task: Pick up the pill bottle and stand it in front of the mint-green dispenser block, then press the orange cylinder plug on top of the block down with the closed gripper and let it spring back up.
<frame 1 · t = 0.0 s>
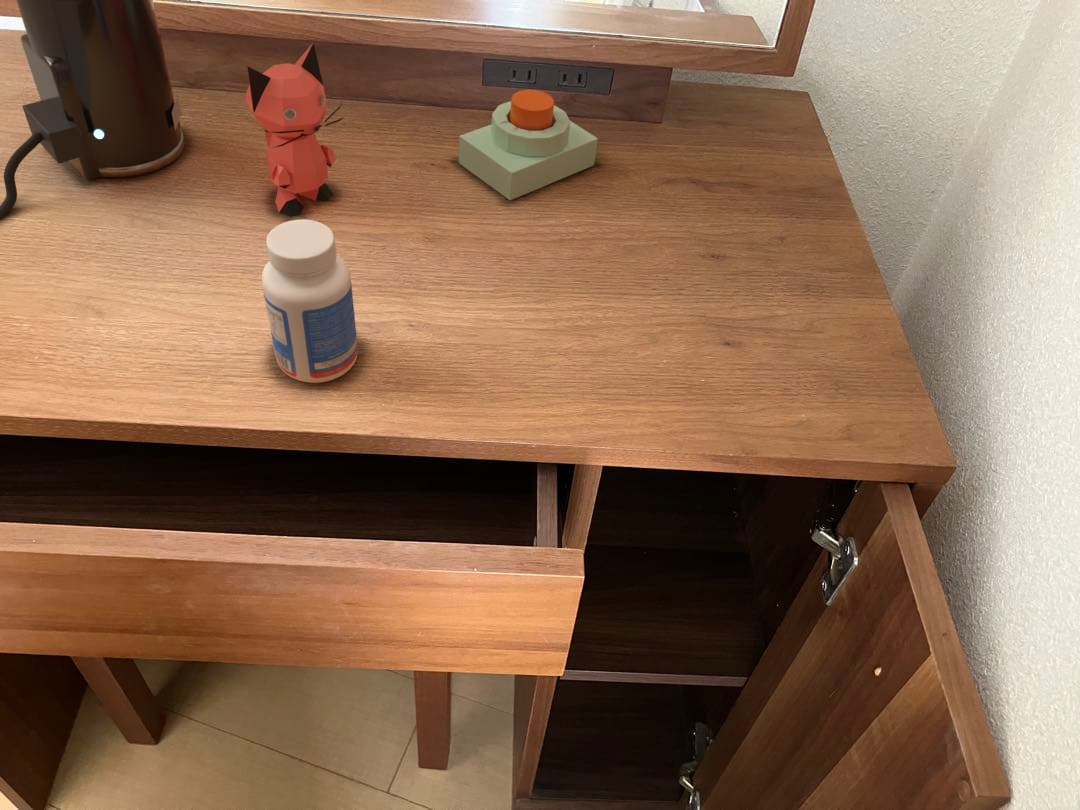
pill bottle: (317, 359, 61), on the table
cat figurine: (299, 198, 73), on the table
orange cylinder plug: (531, 111, 76), point 5 cm above the table, slide at 0.1 cm
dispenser: (527, 164, 80), on the table
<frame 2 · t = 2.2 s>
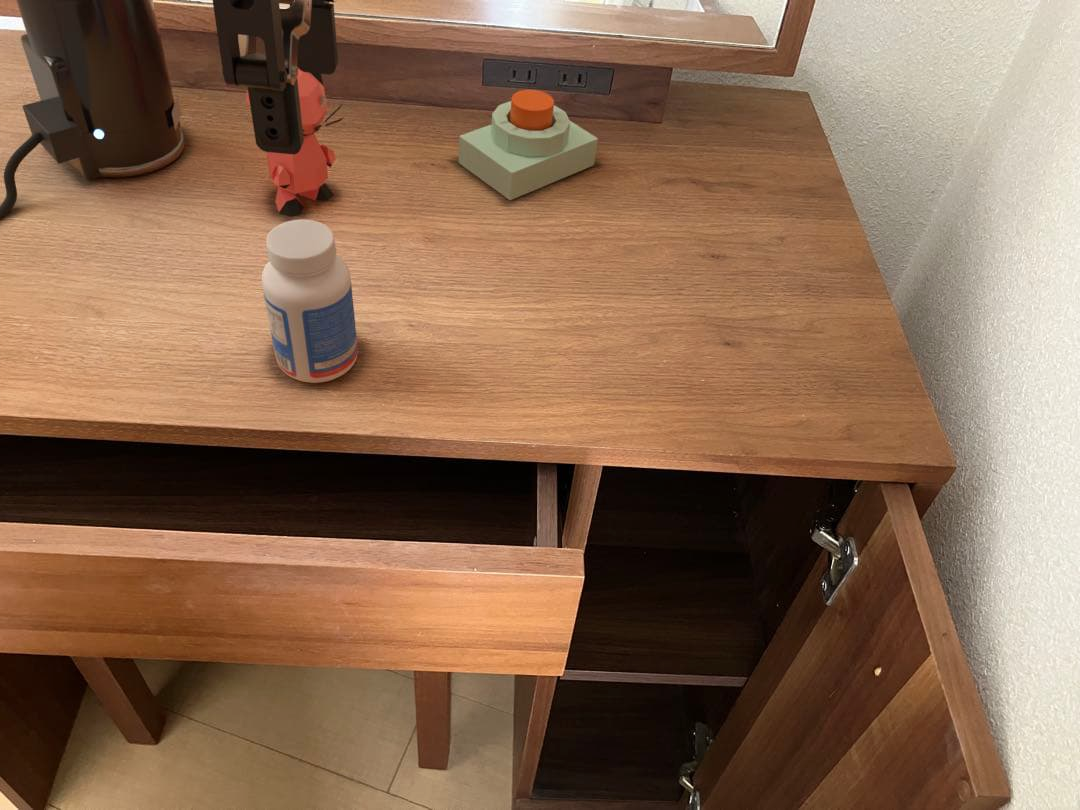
hand: (300, 107, 48), 18 cm above the table, tool pointing down, fingers open, 8 cm apart
nothing on the table moved.
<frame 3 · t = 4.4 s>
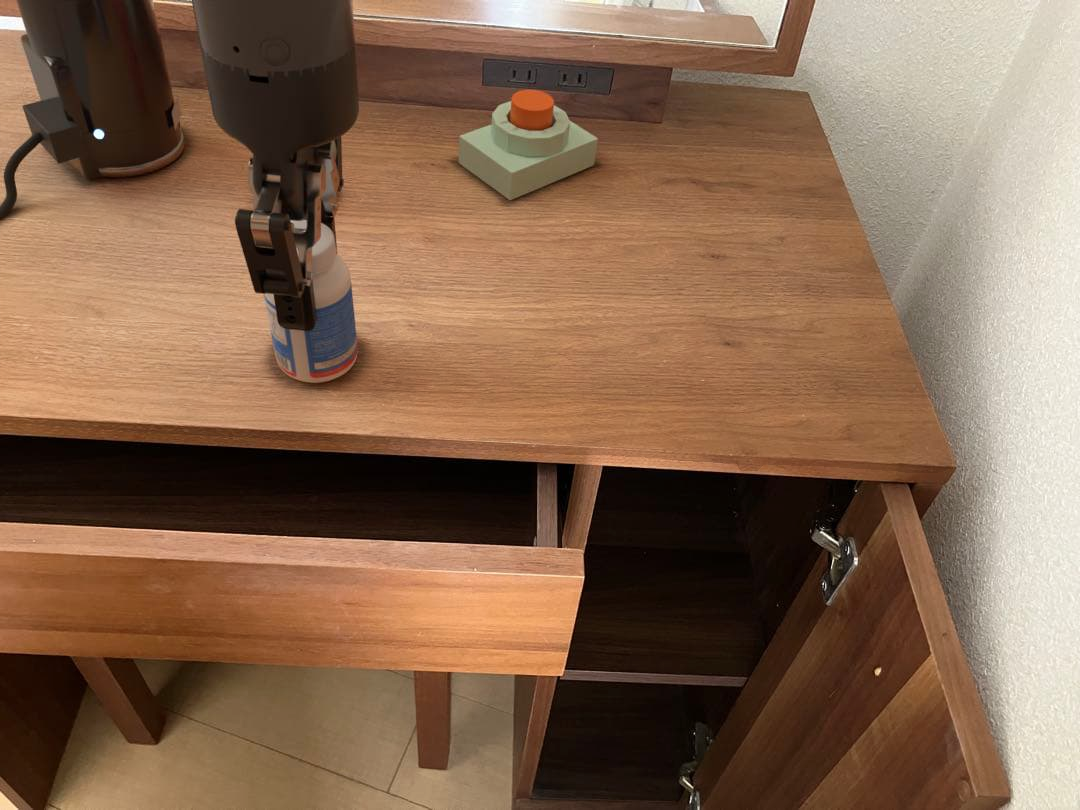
hand: (309, 294, 57), 5 cm above the table, tool pointing down, fingers closed on pill bottle, 5 cm apart
pill bottle: (317, 359, 61), on the table, touching gripper
everything else where it was.
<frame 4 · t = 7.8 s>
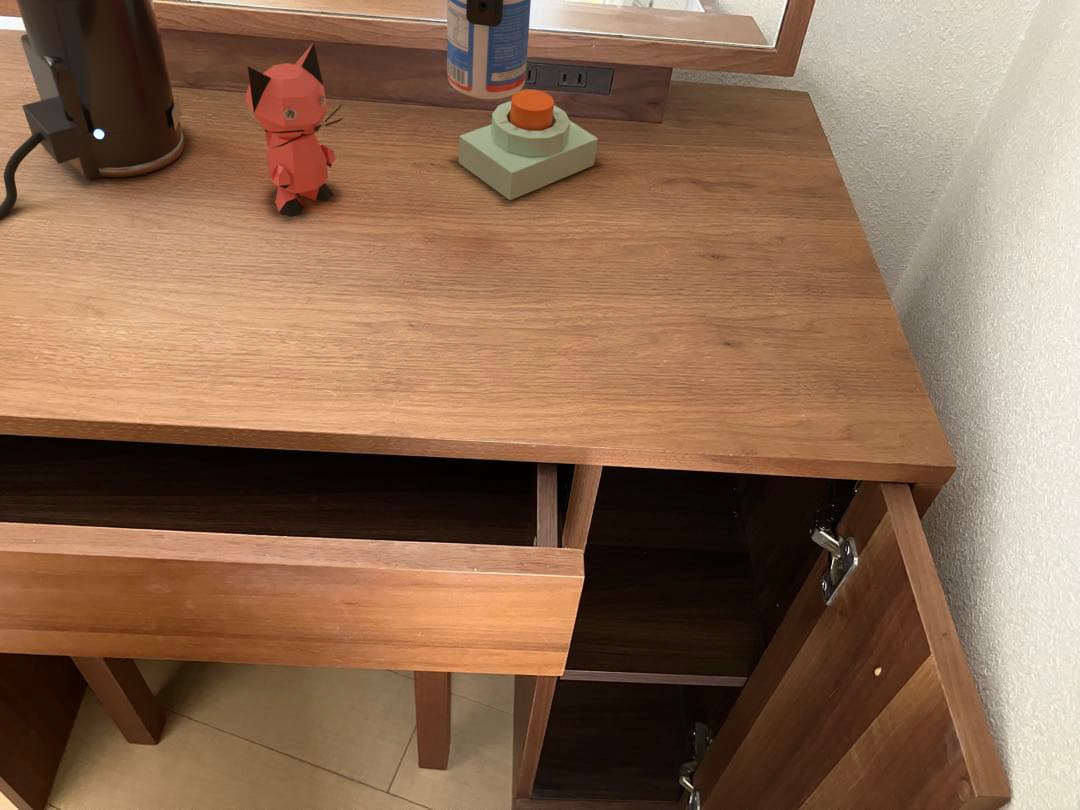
hand: (488, 2, 58), 19 cm above the table, tool pointing down, fingers closed on pill bottle, 5 cm apart
pill bottle: (485, 85, 62), point 13 cm above the table, touching gripper
everything else where it was.
when the fingers open (5 cm above the table, at t = 11.3 s): pill bottle stays where it is, on the table.
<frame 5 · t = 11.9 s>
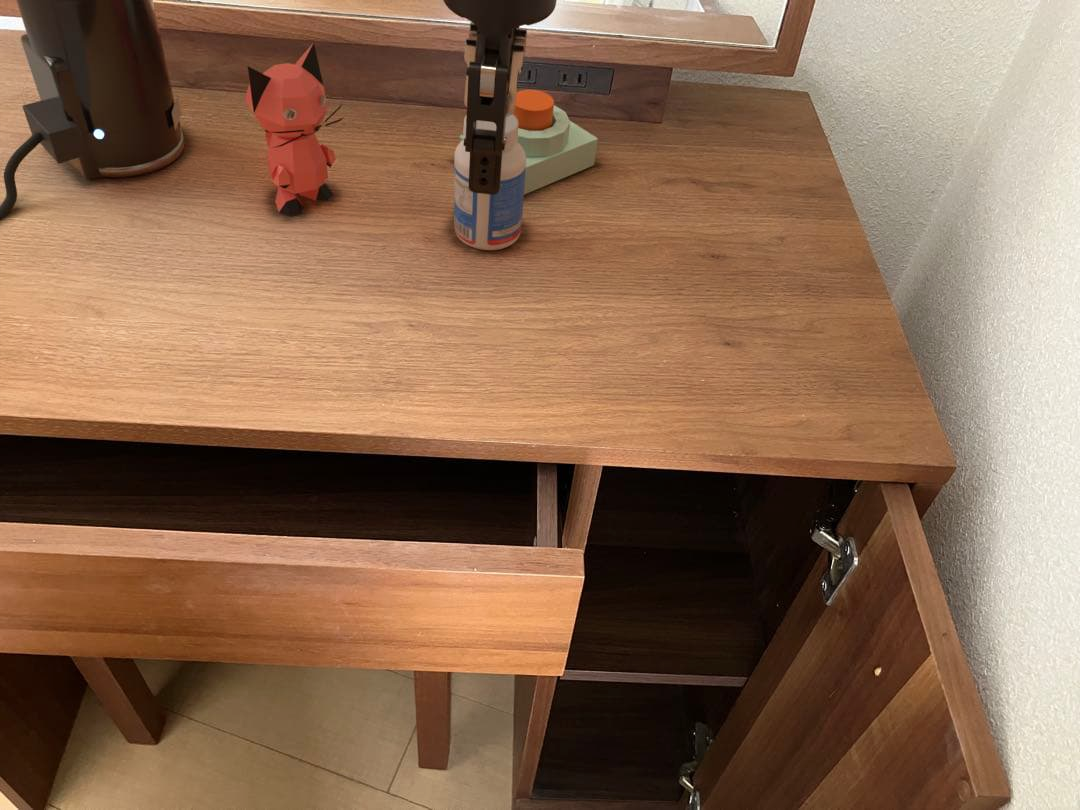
hand: (489, 159, 67), 7 cm above the table, tool pointing down, fingers open, 8 cm apart
pill bottle: (486, 234, 72), on the table
everything else where it was.
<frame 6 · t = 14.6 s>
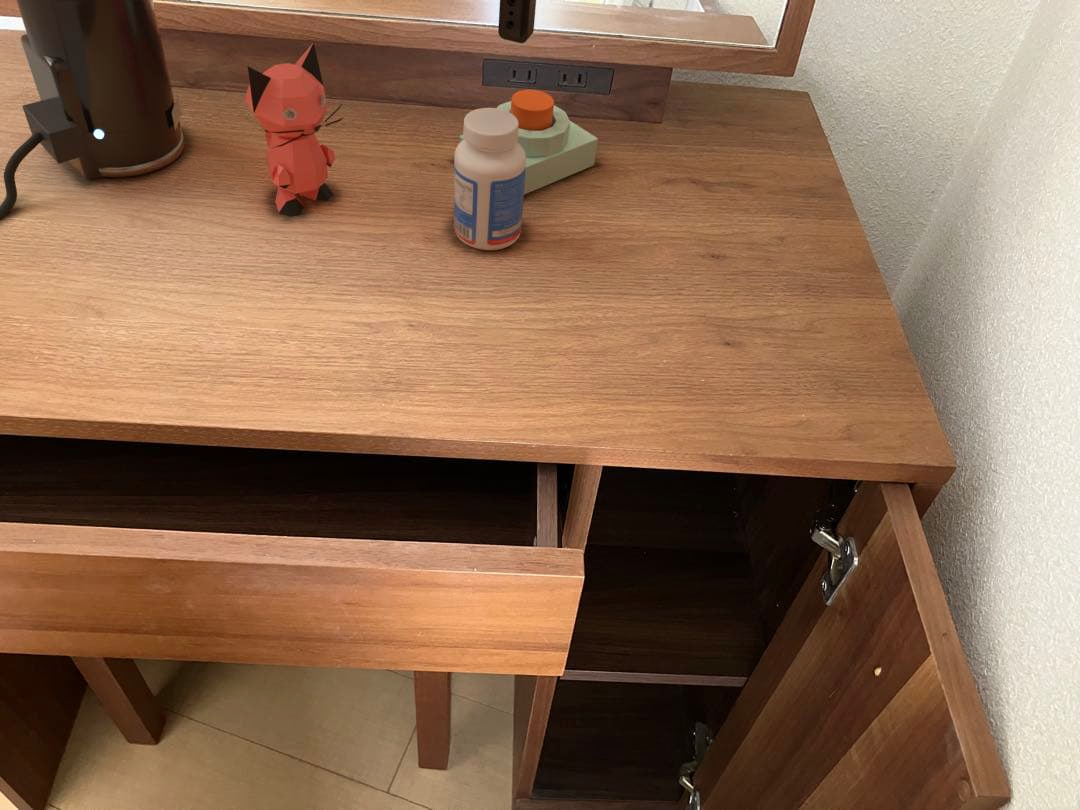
hand: (515, 37, 65), 14 cm above the table, tool pointing down, fingers closed
nothing on the table moved.
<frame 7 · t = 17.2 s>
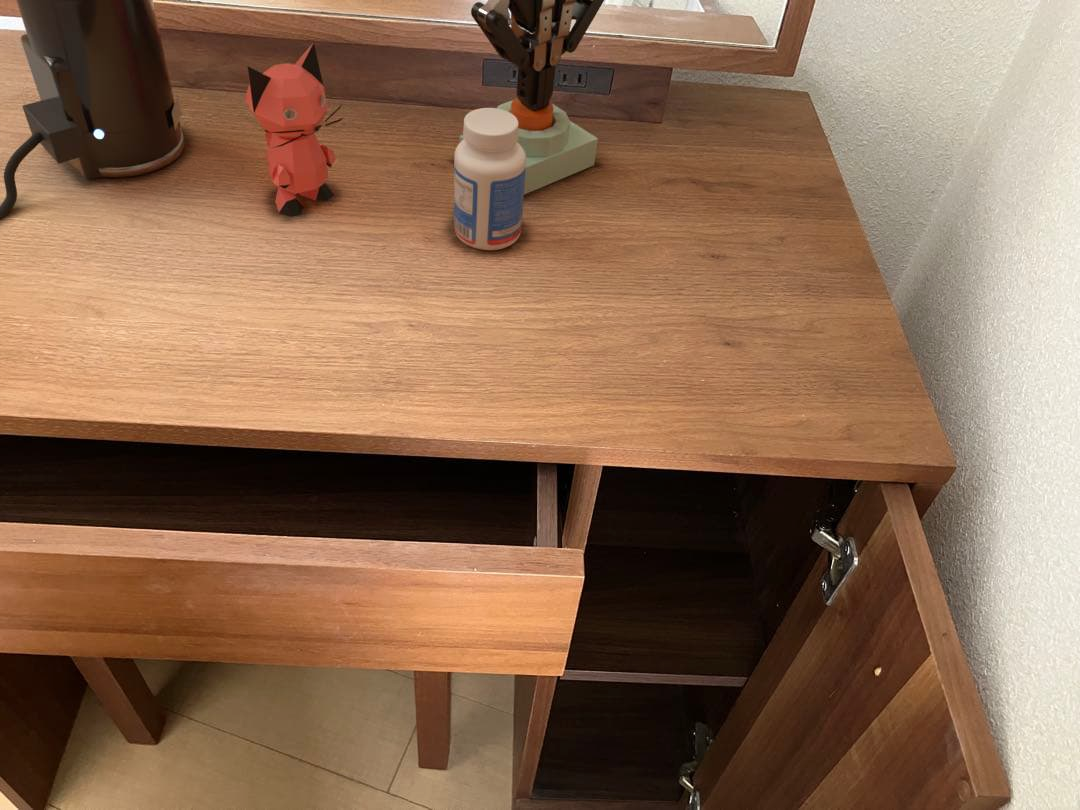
hand: (533, 105, 76), 6 cm above the table, tool pointing down, fingers closed
orange cylinder plug: (531, 116, 76), point 5 cm above the table, slide at -0.4 cm, touching gripper
everything else where it was.
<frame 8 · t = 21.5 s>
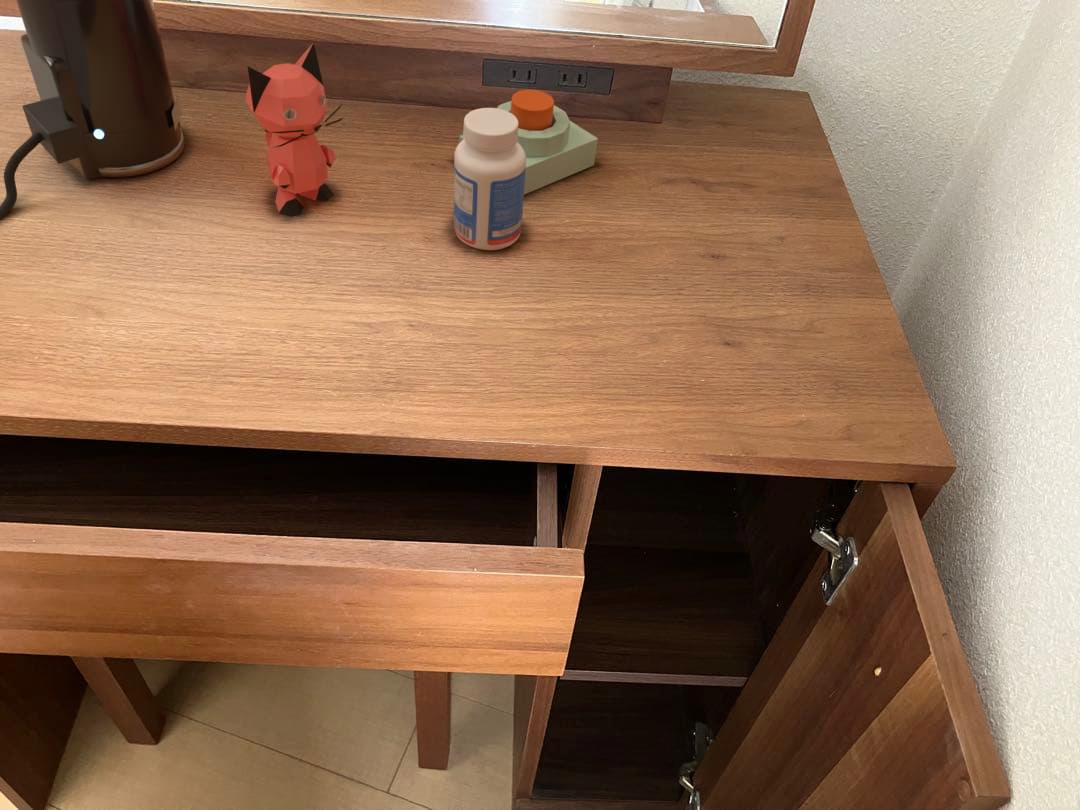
orange cylinder plug: (531, 111, 76), point 5 cm above the table, slide at 0.1 cm
everything else where it was.
at the end: orange cylinder plug pushed in 1.1 cm at the most during the clip, back to where it started at the end; orange cylinder plug slide at 0.1 cm; pill bottle 0.1 cm from the target spot on the table beside the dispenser, on the table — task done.
